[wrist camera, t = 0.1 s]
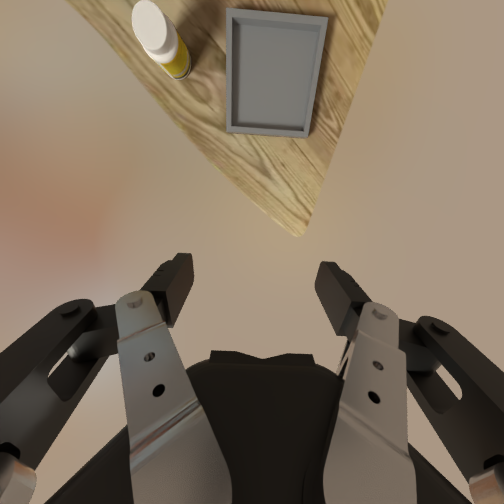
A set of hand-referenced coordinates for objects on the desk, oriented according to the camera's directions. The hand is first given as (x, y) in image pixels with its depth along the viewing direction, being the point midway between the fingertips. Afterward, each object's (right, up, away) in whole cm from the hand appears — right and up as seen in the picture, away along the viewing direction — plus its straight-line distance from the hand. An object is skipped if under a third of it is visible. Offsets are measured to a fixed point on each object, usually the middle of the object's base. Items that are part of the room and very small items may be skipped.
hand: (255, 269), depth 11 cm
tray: (+3, +28, +18) cm, 34 cm away
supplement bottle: (-12, +31, +17) cm, 37 cm away
